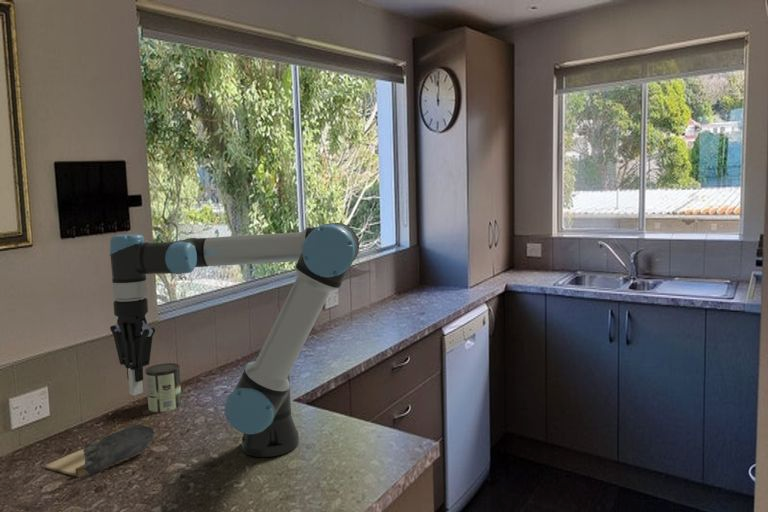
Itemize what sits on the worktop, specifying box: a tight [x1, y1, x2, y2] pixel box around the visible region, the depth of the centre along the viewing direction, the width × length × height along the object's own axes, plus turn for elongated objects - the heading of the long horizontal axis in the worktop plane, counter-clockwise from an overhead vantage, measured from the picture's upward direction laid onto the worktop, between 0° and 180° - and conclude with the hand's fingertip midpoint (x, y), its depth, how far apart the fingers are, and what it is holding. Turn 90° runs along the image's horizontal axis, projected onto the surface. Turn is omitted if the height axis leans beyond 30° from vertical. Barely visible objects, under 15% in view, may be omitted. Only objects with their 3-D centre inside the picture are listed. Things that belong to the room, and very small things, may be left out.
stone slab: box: [83, 424, 155, 475], centre depth 145 cm, size 18×2×10 cm, turn 145°
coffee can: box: [144, 362, 183, 413], centre depth 183 cm, size 10×10×14 cm
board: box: [44, 448, 89, 478], centre depth 150 cm, size 13×18×2 cm
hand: (136, 393), depth 140 cm, fingers closed
